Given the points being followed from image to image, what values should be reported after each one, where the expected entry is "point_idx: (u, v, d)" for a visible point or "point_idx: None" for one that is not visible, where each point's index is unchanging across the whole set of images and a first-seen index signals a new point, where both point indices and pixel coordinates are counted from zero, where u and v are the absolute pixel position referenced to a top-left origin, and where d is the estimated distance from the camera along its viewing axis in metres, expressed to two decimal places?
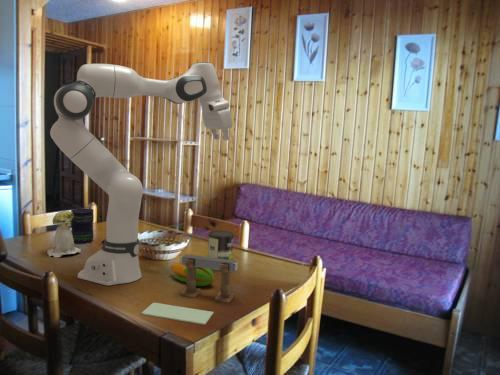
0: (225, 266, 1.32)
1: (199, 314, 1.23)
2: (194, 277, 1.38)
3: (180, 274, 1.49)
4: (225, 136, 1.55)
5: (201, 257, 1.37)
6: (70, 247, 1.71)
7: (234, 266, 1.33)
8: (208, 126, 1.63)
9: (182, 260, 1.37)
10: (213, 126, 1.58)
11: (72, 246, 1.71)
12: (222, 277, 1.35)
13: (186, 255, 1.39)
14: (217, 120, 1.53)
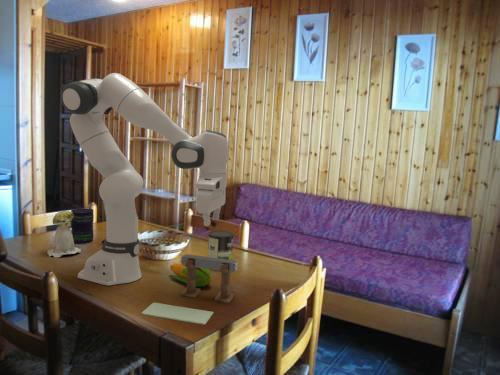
0: (225, 266, 1.32)
1: (199, 314, 1.23)
2: (194, 277, 1.38)
3: (179, 274, 1.49)
4: (205, 221, 1.29)
5: (201, 257, 1.37)
6: (70, 247, 1.71)
7: (234, 266, 1.33)
8: None
9: (182, 260, 1.37)
10: None
11: (72, 246, 1.71)
12: (222, 277, 1.35)
13: (186, 255, 1.39)
14: None
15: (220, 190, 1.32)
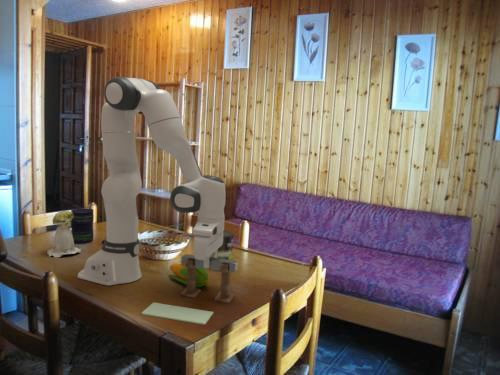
0: (225, 266, 1.32)
1: (199, 314, 1.23)
2: (194, 277, 1.38)
3: (177, 274, 1.49)
4: (205, 263, 1.34)
5: None
6: (70, 247, 1.71)
7: (234, 266, 1.33)
8: None
9: (182, 260, 1.37)
10: None
11: (72, 246, 1.71)
12: (222, 277, 1.35)
13: (186, 255, 1.39)
14: None
15: (217, 234, 1.33)
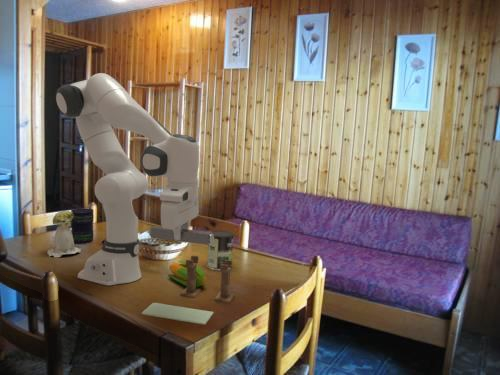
0: (225, 266, 1.32)
1: (199, 314, 1.23)
2: (194, 277, 1.38)
3: (175, 274, 1.49)
4: (175, 234, 1.17)
5: None
6: (70, 247, 1.71)
7: (209, 238, 1.17)
8: None
9: (151, 232, 1.21)
10: None
11: (72, 246, 1.71)
12: (222, 277, 1.35)
13: (156, 226, 1.22)
14: None
15: (190, 201, 1.17)
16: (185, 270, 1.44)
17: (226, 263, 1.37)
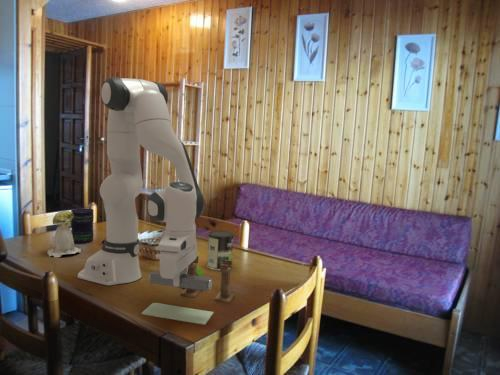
0: (225, 266, 1.32)
1: (199, 314, 1.23)
2: None
3: None
4: (174, 281, 1.19)
5: None
6: (70, 247, 1.71)
7: (208, 284, 1.19)
8: None
9: (150, 278, 1.22)
10: None
11: (72, 246, 1.71)
12: (222, 277, 1.35)
13: (155, 272, 1.24)
14: None
15: (188, 248, 1.19)
16: None
17: (226, 263, 1.37)
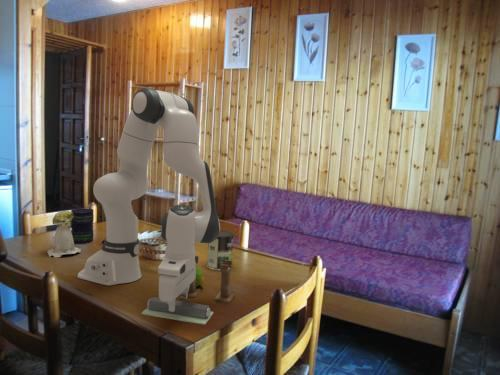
0: (225, 266, 1.32)
1: None
2: None
3: None
4: (170, 306, 1.18)
5: None
6: (70, 247, 1.71)
7: (205, 313, 1.20)
8: None
9: (149, 304, 1.24)
10: None
11: (72, 246, 1.71)
12: (222, 277, 1.35)
13: (154, 298, 1.25)
14: None
15: (187, 271, 1.20)
16: None
17: (226, 263, 1.37)
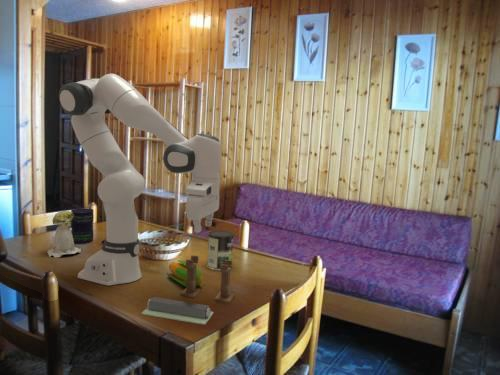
0: (225, 266, 1.32)
1: None
2: (194, 277, 1.38)
3: (173, 273, 1.50)
4: (195, 227, 1.25)
5: (170, 301, 1.24)
6: (70, 247, 1.71)
7: (205, 313, 1.20)
8: None
9: (149, 304, 1.24)
10: None
11: (72, 246, 1.71)
12: (222, 277, 1.35)
13: (154, 298, 1.25)
14: None
15: (212, 196, 1.27)
16: (182, 269, 1.44)
17: (226, 263, 1.37)
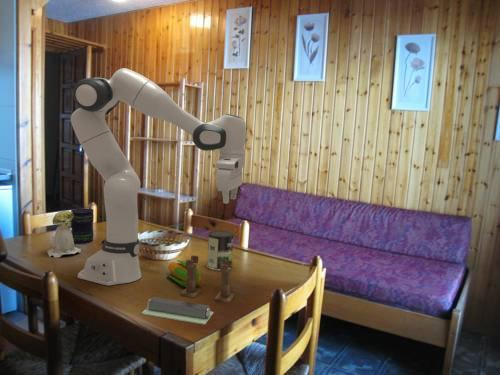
0: (225, 266, 1.32)
1: None
2: (194, 277, 1.38)
3: (173, 273, 1.50)
4: (224, 198, 1.38)
5: (170, 301, 1.24)
6: (70, 247, 1.71)
7: (205, 313, 1.20)
8: None
9: (149, 304, 1.24)
10: None
11: (72, 246, 1.71)
12: (222, 277, 1.35)
13: (154, 298, 1.25)
14: None
15: (238, 170, 1.41)
16: (181, 269, 1.44)
17: (226, 263, 1.37)
